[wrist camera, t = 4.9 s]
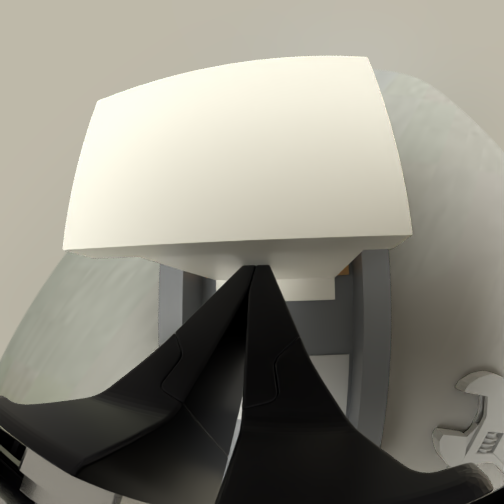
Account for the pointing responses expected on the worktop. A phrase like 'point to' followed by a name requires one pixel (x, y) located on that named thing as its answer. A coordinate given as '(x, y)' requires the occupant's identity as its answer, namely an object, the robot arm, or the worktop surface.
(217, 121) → the switch tab
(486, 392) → the adjustable wrench
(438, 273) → the worktop surface
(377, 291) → the switch housing
